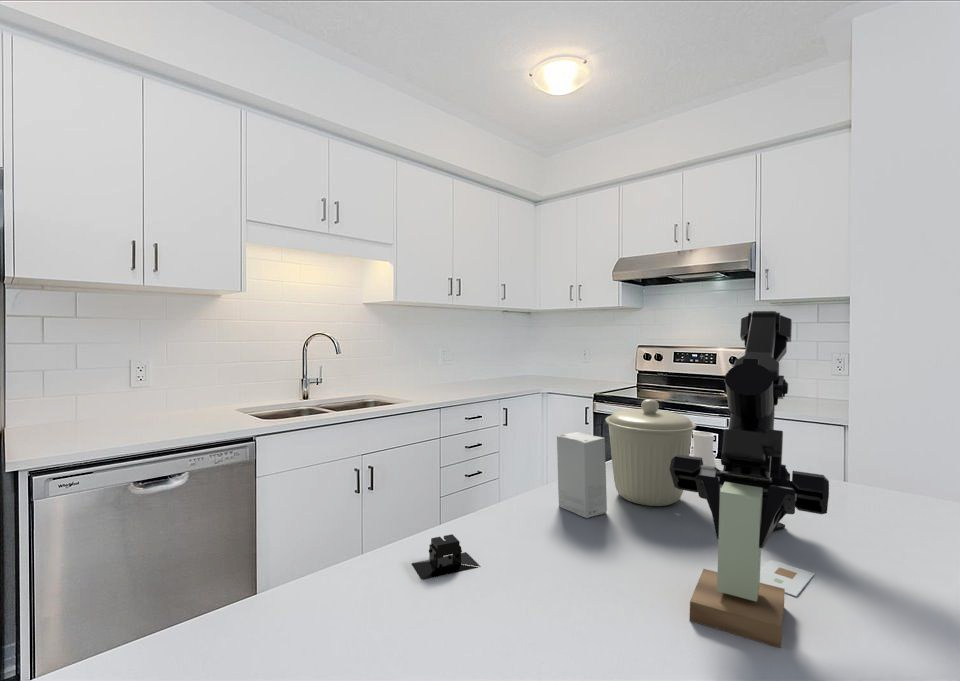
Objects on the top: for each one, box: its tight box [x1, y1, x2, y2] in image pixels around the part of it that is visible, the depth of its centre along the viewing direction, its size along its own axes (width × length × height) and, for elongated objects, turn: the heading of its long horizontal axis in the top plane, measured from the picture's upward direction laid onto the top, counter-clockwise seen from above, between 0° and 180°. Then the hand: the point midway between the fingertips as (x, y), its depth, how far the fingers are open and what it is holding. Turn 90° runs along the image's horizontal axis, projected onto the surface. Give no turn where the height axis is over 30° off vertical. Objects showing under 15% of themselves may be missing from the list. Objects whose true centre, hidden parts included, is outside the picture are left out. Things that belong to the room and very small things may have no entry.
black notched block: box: [411, 534, 481, 581], centre depth 79 cm, size 12×7×5 cm, turn 115°
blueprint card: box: [760, 559, 815, 598], centre depth 76 cm, size 9×6×1 cm, turn 134°
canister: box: [605, 398, 697, 507], centre depth 109 cm, size 18×18×21 cm
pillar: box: [717, 482, 763, 602], centre depth 66 cm, size 4×4×13 cm
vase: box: [691, 431, 718, 469], centre depth 126 cm, size 8×8×10 cm
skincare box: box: [556, 431, 608, 519], centre depth 102 cm, size 8×6×15 cm
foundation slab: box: [689, 568, 786, 649], centre depth 67 cm, size 10×10×2 cm
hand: (738, 542), depth 65 cm, fingers closed on pillar, 4 cm apart
